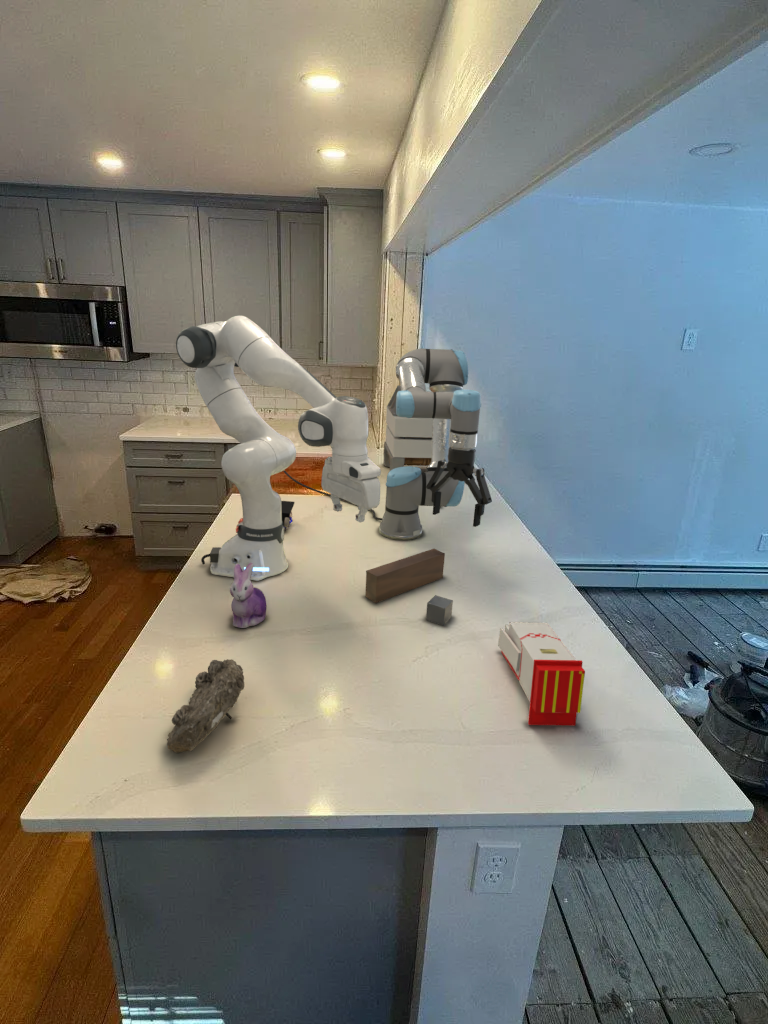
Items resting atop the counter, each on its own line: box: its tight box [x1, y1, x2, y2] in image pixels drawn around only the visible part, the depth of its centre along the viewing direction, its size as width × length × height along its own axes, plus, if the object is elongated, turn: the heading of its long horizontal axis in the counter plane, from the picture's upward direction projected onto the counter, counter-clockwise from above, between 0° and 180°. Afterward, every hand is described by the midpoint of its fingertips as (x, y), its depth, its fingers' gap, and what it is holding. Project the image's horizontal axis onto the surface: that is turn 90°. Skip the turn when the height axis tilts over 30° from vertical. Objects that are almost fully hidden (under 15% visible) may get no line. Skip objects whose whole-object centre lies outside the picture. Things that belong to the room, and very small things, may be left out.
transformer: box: [383, 384, 433, 472], centre depth 268 cm, size 34×33×41 cm
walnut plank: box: [365, 548, 446, 604], centre depth 161 cm, size 4×26×8 cm, turn 131°
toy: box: [497, 621, 586, 727], centre depth 121 cm, size 12×13×30 cm
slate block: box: [425, 594, 454, 626], centre depth 145 cm, size 5×5×5 cm
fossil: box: [166, 658, 245, 754], centre depth 106 cm, size 22×10×15 cm
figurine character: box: [281, 500, 295, 533], centre depth 201 cm, size 7×8×15 cm
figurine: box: [229, 563, 268, 629], centre depth 139 cm, size 9×10×15 cm
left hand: (348, 515), depth 145 cm, fingers open, 8 cm apart
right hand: (455, 519), depth 164 cm, fingers open, 13 cm apart
